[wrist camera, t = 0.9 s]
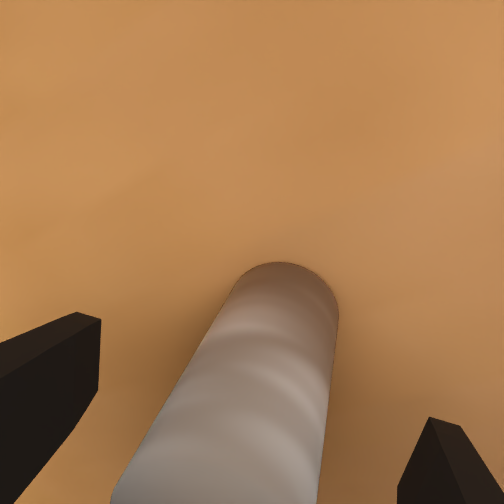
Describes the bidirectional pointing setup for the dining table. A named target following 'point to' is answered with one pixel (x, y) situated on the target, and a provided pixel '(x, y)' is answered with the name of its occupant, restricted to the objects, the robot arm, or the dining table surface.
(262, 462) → the sliding frame
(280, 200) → the dining table surface
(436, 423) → the robot arm
